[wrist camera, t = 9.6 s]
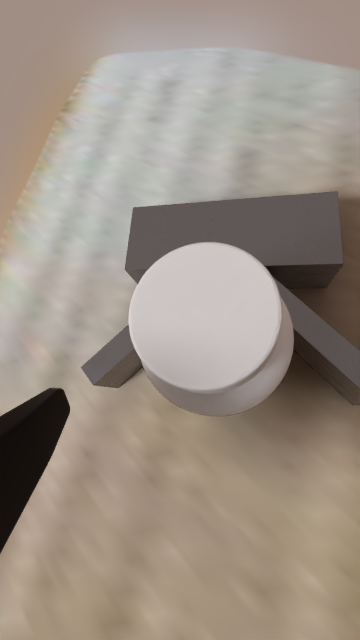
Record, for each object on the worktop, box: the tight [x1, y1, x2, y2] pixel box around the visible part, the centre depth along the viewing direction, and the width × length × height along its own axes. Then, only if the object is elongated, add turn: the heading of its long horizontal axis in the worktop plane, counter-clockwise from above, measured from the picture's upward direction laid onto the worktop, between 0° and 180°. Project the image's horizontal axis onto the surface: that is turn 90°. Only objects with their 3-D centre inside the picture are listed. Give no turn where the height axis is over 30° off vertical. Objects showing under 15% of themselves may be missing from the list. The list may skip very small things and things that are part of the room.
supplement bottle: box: [129, 242, 294, 416], centre depth 12 cm, size 5×5×10 cm
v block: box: [81, 191, 360, 405], centre depth 16 cm, size 10×14×3 cm
